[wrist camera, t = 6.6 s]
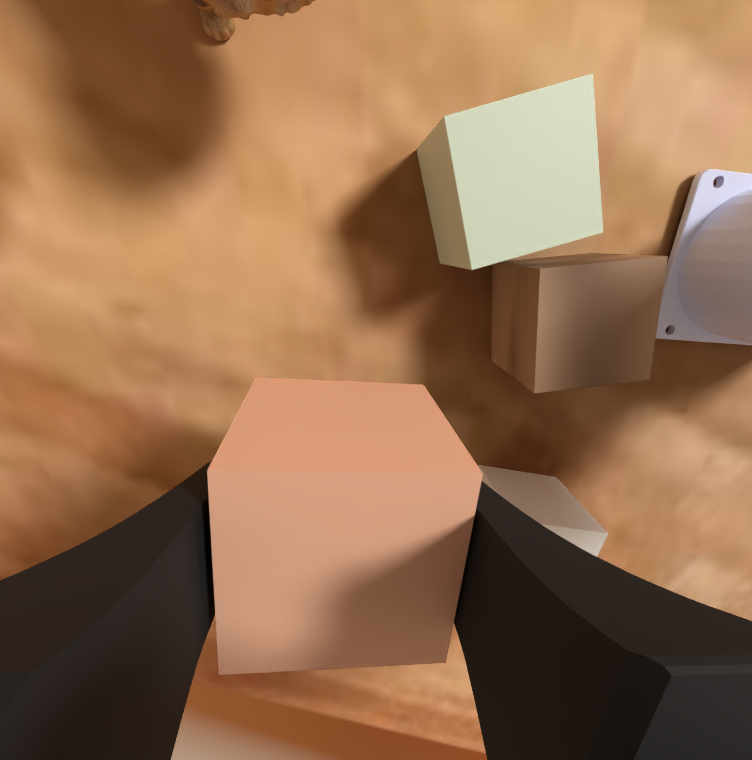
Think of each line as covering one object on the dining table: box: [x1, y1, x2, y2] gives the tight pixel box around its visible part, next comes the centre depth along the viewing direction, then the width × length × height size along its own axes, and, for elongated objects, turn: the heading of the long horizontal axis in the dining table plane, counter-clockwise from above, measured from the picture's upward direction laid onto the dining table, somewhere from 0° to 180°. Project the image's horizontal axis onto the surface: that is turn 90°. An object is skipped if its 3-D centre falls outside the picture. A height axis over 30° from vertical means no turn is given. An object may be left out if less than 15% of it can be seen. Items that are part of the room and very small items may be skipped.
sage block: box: [416, 73, 603, 270], centre depth 16 cm, size 5×5×5 cm
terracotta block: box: [207, 377, 483, 675], centre depth 10 cm, size 5×5×5 cm
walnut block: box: [491, 253, 668, 393], centre depth 18 cm, size 5×5×5 cm
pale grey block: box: [478, 465, 608, 557], centre depth 22 cm, size 5×5×5 cm
